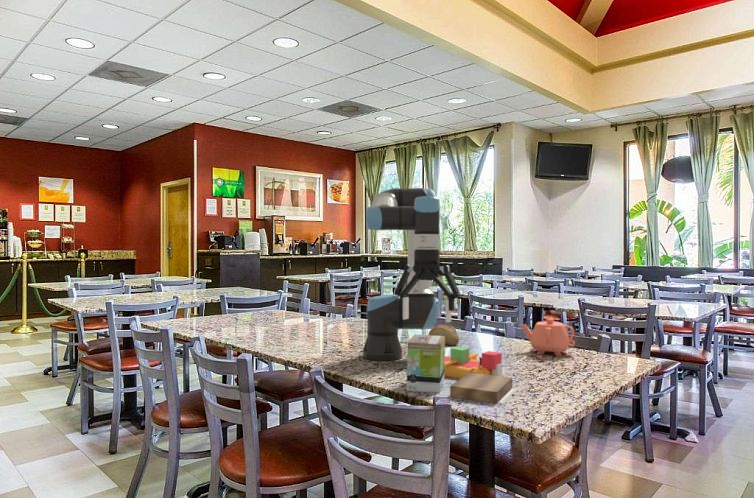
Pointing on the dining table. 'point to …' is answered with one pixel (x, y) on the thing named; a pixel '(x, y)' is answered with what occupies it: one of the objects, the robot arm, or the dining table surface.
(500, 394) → the pedestal
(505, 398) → the blueprint board
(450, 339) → the bread roll
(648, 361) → the dining table surface
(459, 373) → the raft
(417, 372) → the tea box
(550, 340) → the teapot
